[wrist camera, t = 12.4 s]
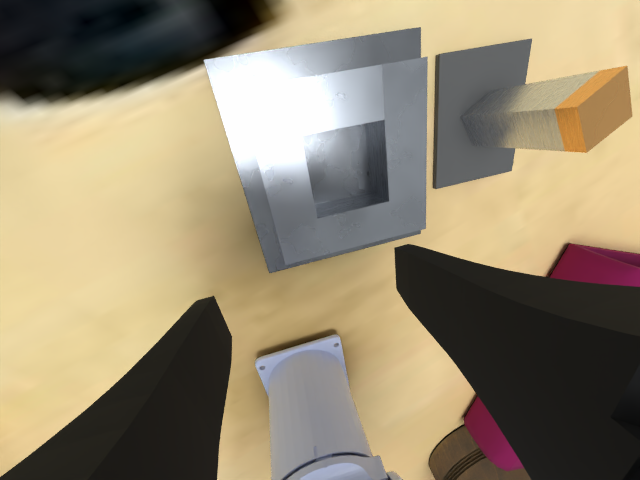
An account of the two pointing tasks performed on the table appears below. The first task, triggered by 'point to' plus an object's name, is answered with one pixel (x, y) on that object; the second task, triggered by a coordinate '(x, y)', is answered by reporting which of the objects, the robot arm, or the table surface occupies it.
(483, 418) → the book
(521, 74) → the mat
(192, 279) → the table surface
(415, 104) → the block
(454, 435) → the wooden container
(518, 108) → the orange and grey block
